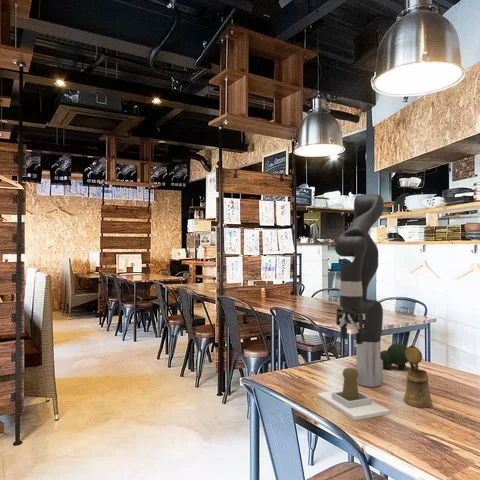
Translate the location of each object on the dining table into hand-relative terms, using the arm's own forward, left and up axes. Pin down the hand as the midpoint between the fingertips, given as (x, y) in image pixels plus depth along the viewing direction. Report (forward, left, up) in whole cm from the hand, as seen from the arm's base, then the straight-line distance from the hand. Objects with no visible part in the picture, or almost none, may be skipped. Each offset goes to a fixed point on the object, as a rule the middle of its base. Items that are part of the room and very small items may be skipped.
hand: (351, 341), depth 144 cm
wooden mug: (-24, +5, -22) cm, 33 cm away
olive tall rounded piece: (0, 0, -21) cm, 21 cm away
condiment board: (0, 0, -22) cm, 22 cm away
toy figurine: (-41, -30, -22) cm, 55 cm away
